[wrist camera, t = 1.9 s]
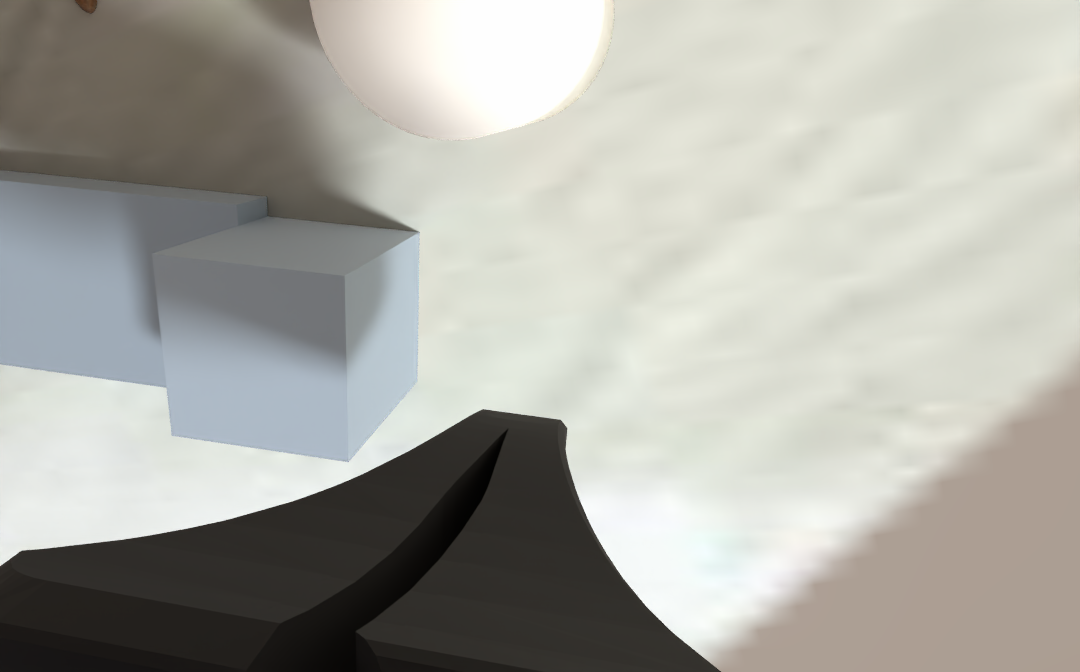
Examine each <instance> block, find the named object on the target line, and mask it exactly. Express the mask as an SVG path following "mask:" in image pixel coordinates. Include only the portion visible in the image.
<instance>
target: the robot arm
mask: <svg viewBox="0 0 1080 672" xmlns="http://www.w3.org/2000/svg"><path fill="white" fill-rule="evenodd" d="M566 437H567V427H566V426H565V425H564V423H563V422H562V421H561V420H557V419H550V418H542V417H535V416H528V415H520V414H513V413H506V412H498V411H491V410H484V409H483V410H481V411H479V412H476V413H475V414H473V415H471V416H469V417H467V418H466V419H464V420H462V421H461V422H459V423H457V424H455V425H454V426H452V427H450V428H449V429H447V430H445V431H444V432H442V433H440V434H438V435H437V436H435V437H433V438H431V439H430V440H428V441H426V442H424V443H423V444H421V445H419V446H417V447H416V448H414V449H412V450H410V451H408V452H406V453H404V454H402V455H400V456H398V457H396V458H394V459H392V460H390V461H388V462H386V463H384V464H382V465H380V466H378V467H376V468H374V469H372V470H370V471H368V472H366V473H364V474H362V475H360V476H358V477H356V478H353V479H351V480H349V481H346V482H344V483H341V484H339V485H337V486H334V487H331V488H329V489H326V490H323V491H321V492H318V493H315V494H313V495H310V496H307V497H304V498H302V499H299V500H296V501H293V502H289V503H286V504H282V505H279V506H275V507H272V508H268V509H265V510H261V511H258V512H254V513H251V514H247V515H244V516H240V517H237V518H233V519H229V520H225V521H221V522H216V523H212V524H207V525H203V526H198V527H193V528H189V529H183V530H178V531H172V532H167V533H161V534H156V535H150V536H144V537H138V538H131V539H125V540H117V541H108V542H100V543H91V544H83V545H74V546H65V547H57V548H48V549H38V550H26V551H21V552H19V553H18V554H16V555H15V556H14V557H12V558H11V559H10V560H8V561H7V562H5V563H4V564H3V565H1V566H0V672H721V671H719V670H718V669H717V668H716V667H714V666H713V665H712V664H711V663H709V662H708V661H707V660H706V659H704V658H703V657H702V656H701V655H699V654H698V653H697V652H696V651H695V650H693V649H692V648H691V647H690V646H688V645H687V644H686V643H685V642H683V641H682V640H681V639H680V638H678V637H677V636H676V635H675V634H674V633H673V632H671V631H670V630H669V629H668V628H667V627H666V626H665V625H664V624H663V623H662V622H661V621H660V620H659V619H658V618H657V617H656V616H655V615H654V614H653V613H652V612H651V611H650V610H649V609H648V608H647V607H646V606H645V605H644V603H643V602H642V601H641V600H640V598H639V597H638V596H637V595H636V594H635V592H634V591H633V590H632V589H631V588H630V586H629V585H628V584H627V583H626V582H625V580H624V579H623V578H622V576H621V575H620V573H619V572H618V570H617V569H616V567H615V566H614V564H613V563H612V561H611V560H610V558H609V557H608V555H607V554H606V552H605V550H604V549H603V547H602V545H601V544H600V542H599V540H598V538H597V537H596V535H595V533H594V531H593V529H592V527H591V525H590V523H589V521H588V519H587V516H586V514H585V512H584V509H583V507H582V505H581V502H580V500H579V497H578V495H577V492H576V489H575V486H574V483H573V480H572V476H571V473H570V470H569V466H568V461H567V457H566V450H565V448H566Z"/></svg>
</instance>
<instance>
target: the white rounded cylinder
mask: <svg viewBox="0 0 1080 672" xmlns="http://www.w3.org/2000/svg"><path fill="white" fill-rule="evenodd" d="M309 1H310V6H311V11H312V16H313V21H314V24H315V27H316V31H317V34H318V37H319V40H320V42H321V45H322V47H323V49H324V51H325V53H326V56H327V58H328V60H329V61H330V63H331V65H332V66H333V68H334V70H335V72H336V73H337V75H338V76H339V78H340V79H341V80H342V82H343V83H344V84H345V86H346V87H347V88H348V89H349V91H350V92H351V93H352V94H353V95H354V96H355V97H356V98H357V99H358V100H359V101H360V102H361V103H362V104H363V105H364V106H366V107H367V108H368V109H369V110H370V111H372V112H373V113H374V114H375V115H377V116H378V117H380V118H382V119H383V120H385V121H386V122H388V123H390V124H391V125H393V126H395V127H398V128H400V129H402V130H404V131H406V132H409V133H412V134H416V135H419V136H422V137H426V138H433V139H439V140H466V139H474V138H480V137H483V136H487V135H491V134H494V133H498V132H502V131H505V130H509V129H513V128H517V127H520V126H524V125H528V124H531V123H535V122H539V121H542V120H545V119H547V118H550V117H552V116H554V115H556V114H558V113H559V112H561V111H563V110H564V109H566V108H567V107H569V106H570V105H571V104H572V103H574V102H575V101H576V100H577V99H578V98H579V97H580V96H581V95H582V94H583V93H584V92H585V91H586V90H587V89H588V87H589V86H590V85H591V83H592V82H593V81H594V79H595V78H596V76H597V74H598V72H599V71H600V69H601V67H602V65H603V63H604V60H605V58H606V56H607V53H608V50H609V46H610V43H611V39H612V33H613V27H614V0H309Z"/></svg>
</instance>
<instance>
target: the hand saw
mask: <svg viewBox="0 0 1080 672" xmlns="http://www.w3.org/2000/svg"><path fill="white" fill-rule="evenodd" d="M75 1H76V3H77V4H78V5H79V6H80V7H81V8H82V9H83V10H84V11H86V12H89V13H92V12H93V11H94V10H95V9H96V6H97V0H75Z"/></svg>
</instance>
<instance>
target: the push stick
mask: <svg viewBox="0 0 1080 672" xmlns="http://www.w3.org/2000/svg"><path fill="white" fill-rule="evenodd" d="M418 299H419V232H413V231H404V230H394V229H384V228H375V227H365V226H356V225H346V224H336V223H327V222H317V221H308V220H298V219H288V218H279V217H269V216H268V210H267V197H266V196H256V195H246V194H236V193H226V192H216V191H206V190H196V189H186V188H176V187H166V186H156V185H146V184H136V183H126V182H116V181H107V180H97V179H87V178H77V177H67V176H57V175H47V174H37V173H27V172H17V171H7V170H0V364H2V365H9V366H16V367H23V368H30V369H38V370H45V371H52V372H59V373H66V374H73V375H80V376H88V377H95V378H102V379H109V380H116V381H123V382H130V383H137V384H145V385H152V386H159V387H166V388H167V395H168V404H169V414H170V423H171V432H172V436H178V437H184V438H191V439H198V440H204V441H211V442H218V443H224V444H231V445H238V446H245V447H251V448H258V449H265V450H271V451H278V452H285V453H291V454H298V455H305V456H311V457H318V458H325V459H331V460H338V461H345V462H349V461H350V460H351V458H352V457H353V456H354V455H355V454H356V453H357V451H358V450H359V449H360V448H361V447H362V446H363V444H364V443H365V442H366V441H367V440H368V438H369V437H370V436H371V435H372V434H373V433H374V431H375V430H376V429H377V428H378V427H379V426H380V424H381V423H382V422H383V421H384V420H385V419H386V417H387V416H388V415H389V414H390V413H391V412H392V410H393V409H394V408H395V407H396V406H397V404H398V403H399V402H400V401H401V400H402V399H403V397H404V396H405V395H406V394H407V393H408V392H409V390H410V389H411V388H412V387H413V386H414V385H415V383H416V382H417V366H418Z"/></svg>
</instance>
